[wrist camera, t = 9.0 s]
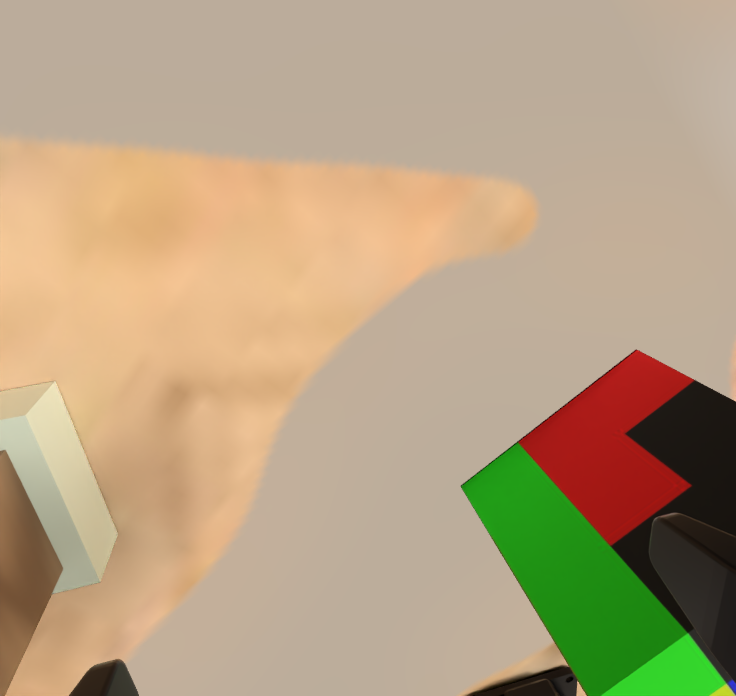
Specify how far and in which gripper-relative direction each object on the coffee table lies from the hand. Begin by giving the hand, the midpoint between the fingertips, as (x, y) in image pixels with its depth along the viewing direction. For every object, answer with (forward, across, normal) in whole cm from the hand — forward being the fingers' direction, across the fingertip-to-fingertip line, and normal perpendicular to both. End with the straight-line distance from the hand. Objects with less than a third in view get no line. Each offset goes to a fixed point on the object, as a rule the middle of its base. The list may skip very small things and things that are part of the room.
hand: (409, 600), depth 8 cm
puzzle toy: (+12, -12, +10) cm, 20 cm away
